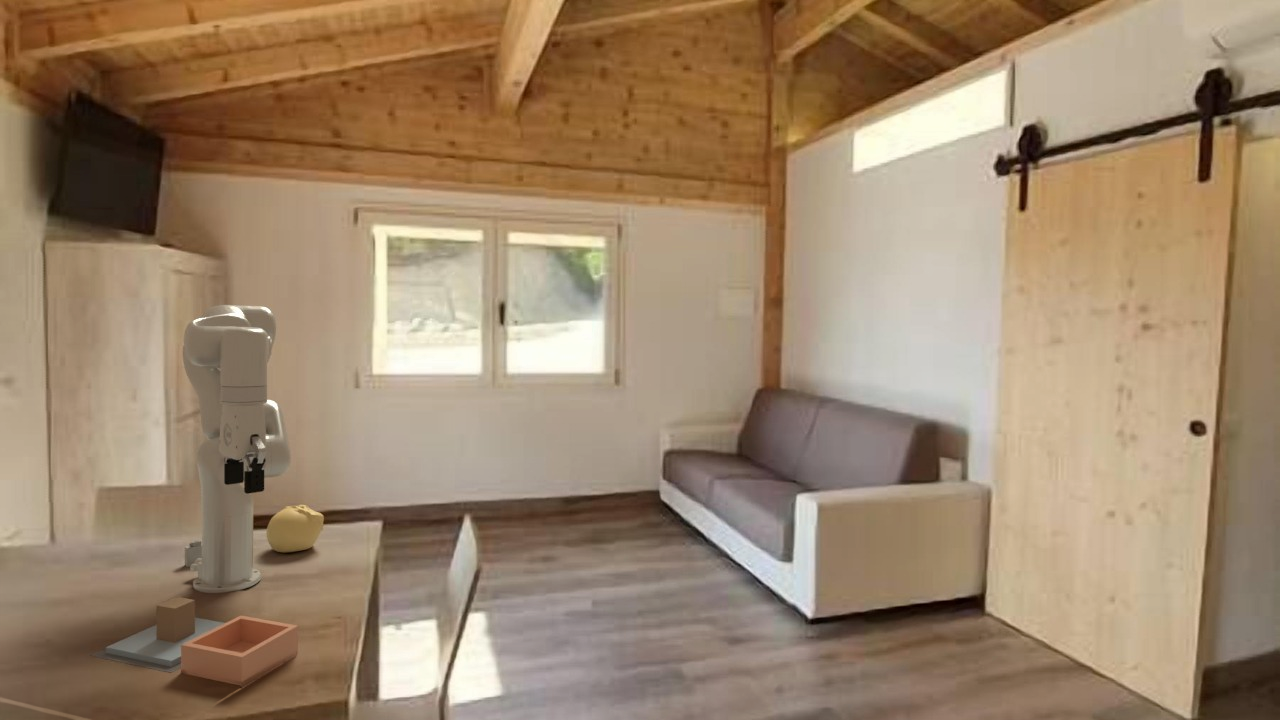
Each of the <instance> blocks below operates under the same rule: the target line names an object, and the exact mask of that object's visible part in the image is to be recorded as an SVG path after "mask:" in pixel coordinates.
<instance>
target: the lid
mask: <svg viewBox="0 0 1280 720" xmlns="http://www.w3.org/2000/svg"><path fill="white" fill-rule="evenodd" d="M155 606H156V607H155V608H156V609H155V610H156V611H155V613H156V619H155V620H156V621H155V622H156V623H155V624H154V625H152V626H151V627H148V628H146V629H144V630H141V631H139V632H137V633H135V634H132V635H131V636H129V637H126V638H123V639H121V640H119V641H117V642H115V643H112V644H110V645H108V646H105V649H106V653H109V654H113V655H118V656H123V657H128V658H132V659H137V660H142V661H147V662H152V663H156V664H161V665H166V666H171V667H172V666H174V665H176V664H178V663H180V662H181V645H182V644H184V643H186V642H188V641H190V640H192V639H194V638H196V637H198V636H200V635H202V634H204V633H206V632H208V631H210V630H212V629H214V628H216V627H219V626H221V625H223V624H225V623H226V622H222V621H218V620H217V621H216V620H211V619H206V618H201V617H196V600H195V599H191V598H185V597H181V596H176V597H173V598H171V599H168V600H166V601H164V602H161V603H159V604H157V605H155Z"/></svg>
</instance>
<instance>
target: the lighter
mask: <svg viewBox="0 0 1280 720" xmlns="http://www.w3.org/2000/svg"><path fill="white" fill-rule="evenodd" d="M197 558H202V539H197V540H193V541H191V542H190V543H189V545H187V546H184V566H185V565H186V566H185V567H188V566H191V564H194V563H195V560H196V559H197ZM188 568H189V567H188Z"/></svg>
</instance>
